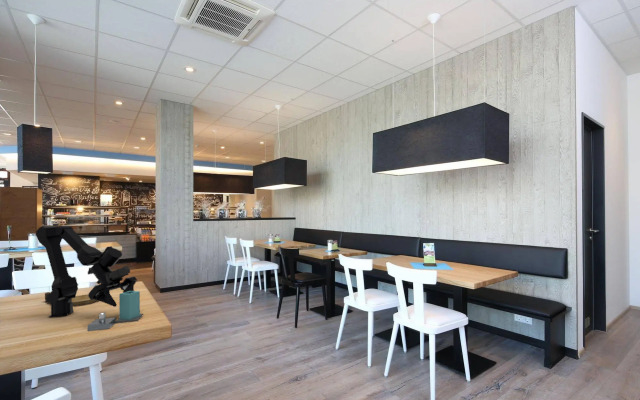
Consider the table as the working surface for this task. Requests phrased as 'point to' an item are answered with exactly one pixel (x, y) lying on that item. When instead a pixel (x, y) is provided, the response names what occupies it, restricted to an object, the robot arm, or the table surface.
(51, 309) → the robot arm
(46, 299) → the hand tool
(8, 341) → the table surface
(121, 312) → the teal sleeve
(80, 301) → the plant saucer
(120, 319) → the rubber mat
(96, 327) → the steel stand
